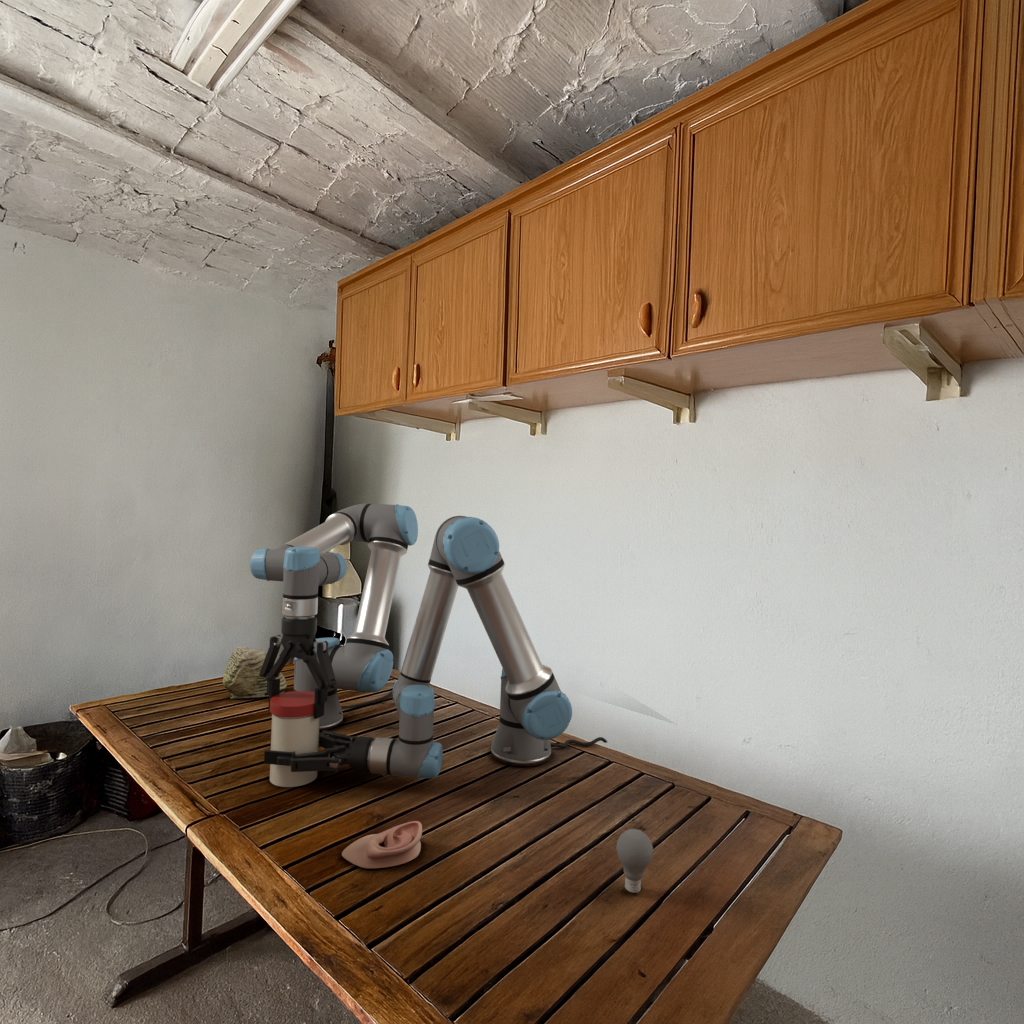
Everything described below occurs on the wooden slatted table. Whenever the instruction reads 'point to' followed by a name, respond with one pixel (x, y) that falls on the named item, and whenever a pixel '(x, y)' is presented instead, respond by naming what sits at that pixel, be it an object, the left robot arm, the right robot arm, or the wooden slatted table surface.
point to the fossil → (247, 674)
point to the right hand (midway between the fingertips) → (276, 747)
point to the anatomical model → (386, 847)
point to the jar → (293, 747)
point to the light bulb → (634, 857)
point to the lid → (293, 704)
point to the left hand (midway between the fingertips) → (296, 712)
